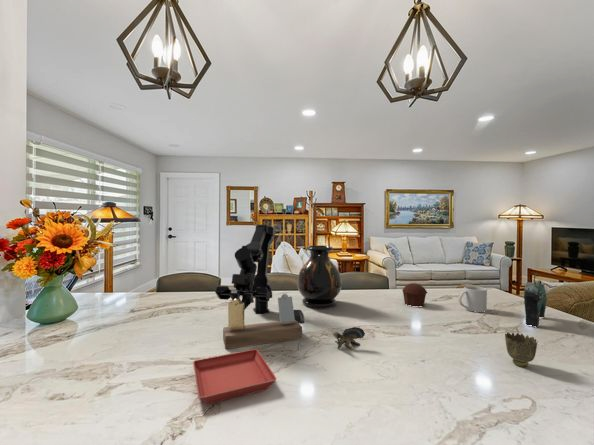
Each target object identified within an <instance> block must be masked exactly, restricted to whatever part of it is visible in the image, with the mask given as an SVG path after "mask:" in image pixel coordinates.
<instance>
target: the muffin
mask: <svg viewBox="0 0 594 445" xmlns="http://www.w3.org/2000/svg"><path fill="white" fill-rule="evenodd" d="M427 294H428V291H427V290H426V288H425V287H424V286H423V285H421V284H420V283H414V282H413V283H408V284H406V285H405V286H404V287H403V289H402V295H403V300H404V305H406V304H407V305H406V306H408V305H411V306H410V307H412V306H423V307H425V303H426V302H425V300H426V296H427Z"/></svg>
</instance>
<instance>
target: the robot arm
mask: <svg viewBox="0 0 594 445" xmlns="http://www.w3.org/2000/svg"><path fill="white" fill-rule="evenodd" d="M254 230H255V231H254V233H253V235H252V238H251V240H250V242H249V243H248V244H245V245H242V246H241V248H238V250H236V252H234V258H235V261H236V262H237V266H238V267H239V268H240V271H239V273H233V274H232V277H231V284H232V285H233V288H231V289H230V288H229V286H228V285H217V286H216V287H215V290H214V293H215V294H216V296H217V297H218V299H219V300H223V301H224V300H226V301H228V300H229V299H231V300H232V301H231V302H233V300H234V299H236V298H237V299H239V300H240V302H244V311H245V310H246V309H247V308H248V307H249V306H250V305H251V304H252V303H254V307H253V308H252V310H253V312H254V313H255V314H265V313H270V312H271V310H270V309H269V301H270V299H273V290H272V286H271V283H270V280H269V278H268V268H269V267H268V265H269V256H270V247H271V244H272V243H273V242H274V238H275V237H276V228H275V227H273V226H270V225H268V224H256V225H255V229H254ZM256 263H257V264H256Z"/></svg>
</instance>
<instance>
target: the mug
mask: <svg viewBox="0 0 594 445" xmlns="http://www.w3.org/2000/svg"><path fill="white" fill-rule="evenodd" d="M463 295H464V297H463ZM487 295H488V289H487V288H485V287H482V286H476V285H468V286H467V285H466V286H464V289H463V290H462V291H461V292H459V296H458V302H459V305H460V306H461V307H463V309H464V308H465V309H467V310H466V311H468V310H470V311H469V312H471V311H476V312H475V313H477V312H484V311H486V312H487V311H488V310H487V303H488V302H487V300H488V297H487ZM462 298H463V299H462ZM462 300H463V301H462ZM465 309H464V310H465ZM484 313H485V312H484Z"/></svg>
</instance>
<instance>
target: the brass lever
mask: <svg viewBox="0 0 594 445" xmlns="http://www.w3.org/2000/svg"><path fill="white" fill-rule="evenodd" d="M240 300H241V299H240ZM240 300H239V299H237V298H236V299H234V300H233V301H228V302H227V308H228V309H227V315H228V317H227V319H228V323H227V324H228V326H227V327H228V329H244V325H245V310H244V302H240Z"/></svg>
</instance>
